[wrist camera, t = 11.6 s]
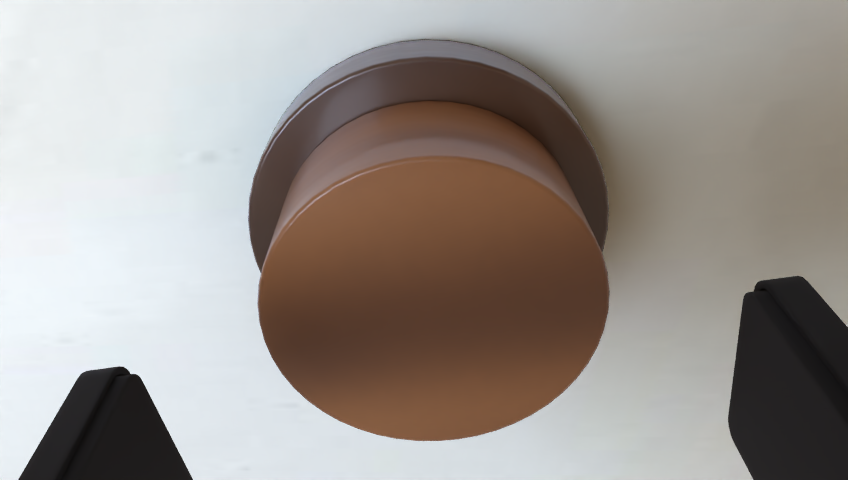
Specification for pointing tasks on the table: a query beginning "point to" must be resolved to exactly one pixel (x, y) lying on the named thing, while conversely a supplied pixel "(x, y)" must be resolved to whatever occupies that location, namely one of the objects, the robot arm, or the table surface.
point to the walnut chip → (414, 82)
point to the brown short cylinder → (432, 275)
